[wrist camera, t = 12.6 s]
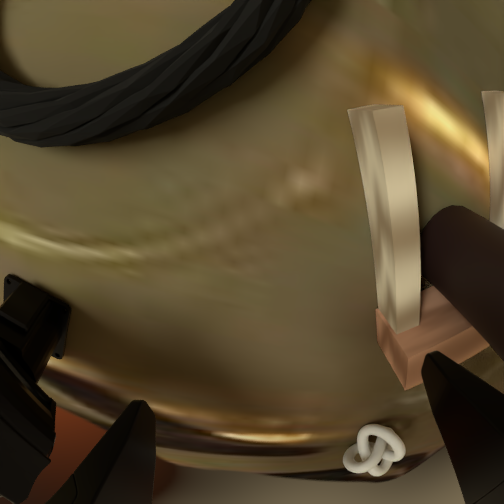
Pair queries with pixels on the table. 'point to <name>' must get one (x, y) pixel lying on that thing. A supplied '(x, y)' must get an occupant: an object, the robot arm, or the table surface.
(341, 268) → the table surface
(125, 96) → the cable lock
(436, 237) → the vinegar
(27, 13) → the table surface
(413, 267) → the track
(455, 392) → the robot arm
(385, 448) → the knot
